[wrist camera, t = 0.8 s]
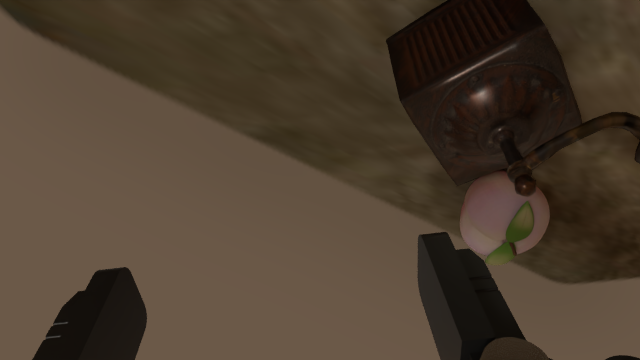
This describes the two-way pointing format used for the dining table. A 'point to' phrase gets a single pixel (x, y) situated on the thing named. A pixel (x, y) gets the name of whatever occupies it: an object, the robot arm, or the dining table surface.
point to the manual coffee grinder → (490, 90)
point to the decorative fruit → (502, 218)
